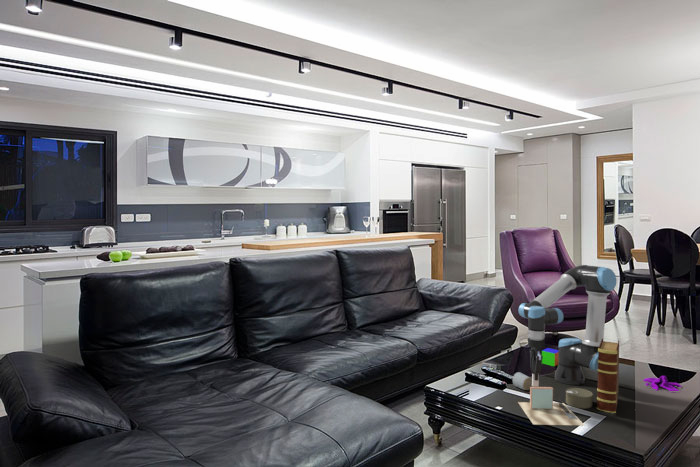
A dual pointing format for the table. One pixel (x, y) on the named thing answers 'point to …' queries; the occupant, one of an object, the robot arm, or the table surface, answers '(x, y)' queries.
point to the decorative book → (608, 376)
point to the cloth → (661, 383)
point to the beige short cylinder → (579, 397)
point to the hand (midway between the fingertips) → (535, 385)
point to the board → (549, 415)
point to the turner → (568, 414)
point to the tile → (541, 397)
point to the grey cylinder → (522, 381)
